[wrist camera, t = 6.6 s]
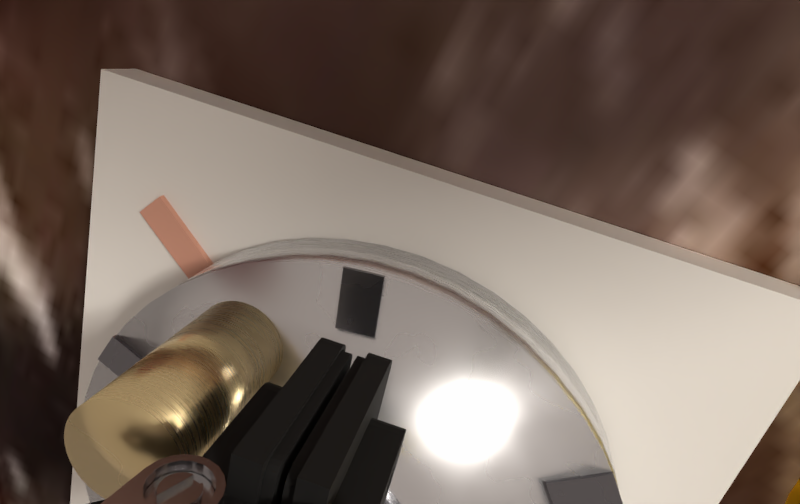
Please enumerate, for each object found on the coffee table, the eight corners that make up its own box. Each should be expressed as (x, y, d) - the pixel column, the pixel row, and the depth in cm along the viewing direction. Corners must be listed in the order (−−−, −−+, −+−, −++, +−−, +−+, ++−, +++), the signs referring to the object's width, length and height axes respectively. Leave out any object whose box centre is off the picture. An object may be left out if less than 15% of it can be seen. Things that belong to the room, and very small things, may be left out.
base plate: (812, 290, 14) (847, 317, 13) (538, 731, 22) (539, 783, 20) (136, 68, 17) (95, 68, 15) (92, 536, 24) (61, 569, 22)
